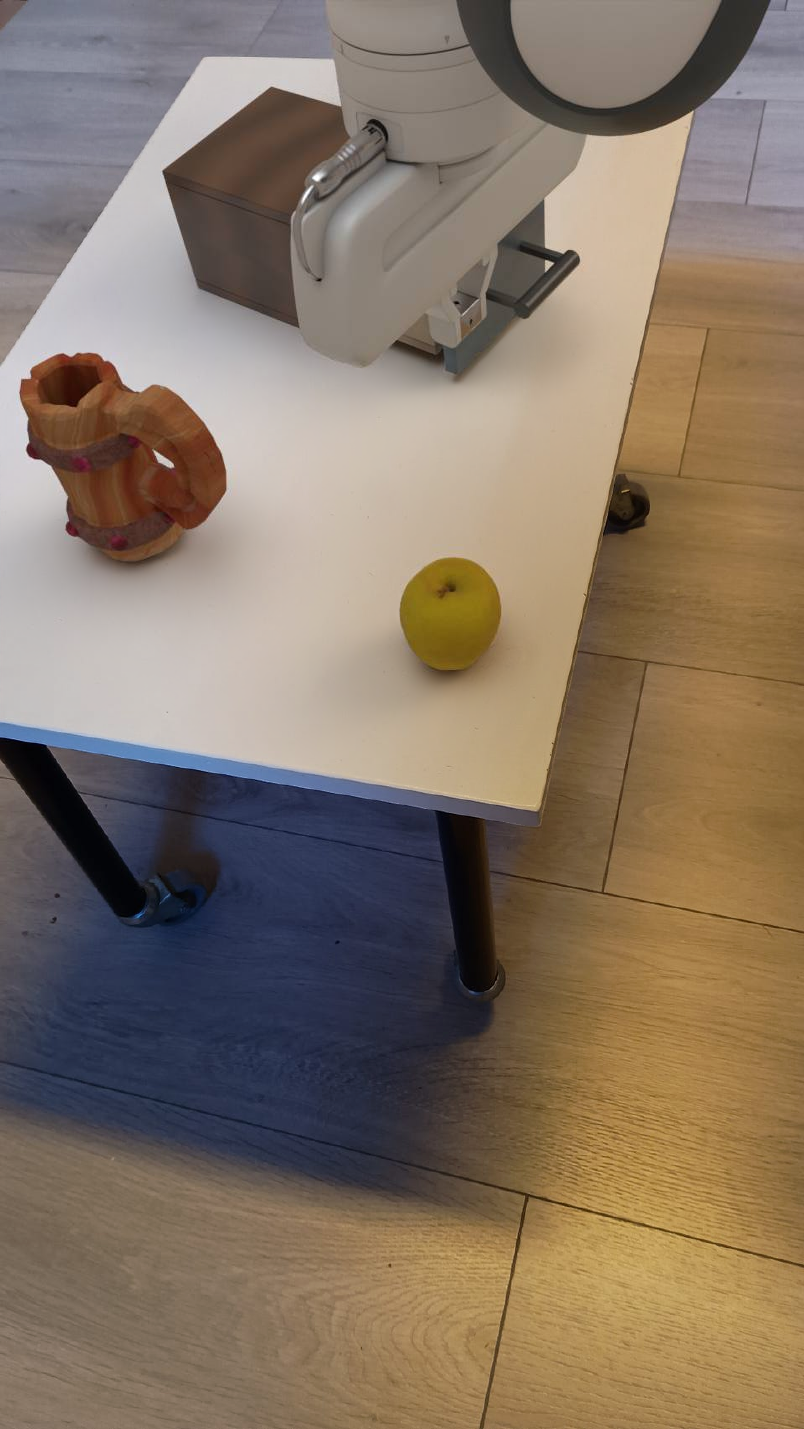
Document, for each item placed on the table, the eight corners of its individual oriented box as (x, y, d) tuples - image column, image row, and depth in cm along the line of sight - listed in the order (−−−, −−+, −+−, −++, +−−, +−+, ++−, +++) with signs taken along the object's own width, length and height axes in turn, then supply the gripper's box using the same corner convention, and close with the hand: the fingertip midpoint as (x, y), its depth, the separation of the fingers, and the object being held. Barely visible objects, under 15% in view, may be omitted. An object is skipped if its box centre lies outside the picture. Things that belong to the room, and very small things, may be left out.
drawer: (597, 302, 89) (601, 198, 82) (510, 396, 84) (506, 295, 77) (394, 233, 97) (380, 133, 90) (304, 315, 92) (282, 217, 85)
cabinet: (443, 254, 96) (431, 131, 87) (346, 346, 91) (323, 226, 82) (295, 204, 103) (271, 85, 94) (197, 287, 98) (161, 170, 89)
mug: (55, 554, 82) (-34, 393, 69) (119, 479, 85) (45, 314, 73) (219, 614, 77) (154, 453, 64) (279, 532, 80) (229, 364, 68)
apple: (429, 706, 71) (416, 630, 64) (392, 635, 74) (376, 555, 67) (520, 670, 71) (517, 590, 65) (480, 600, 75) (472, 518, 68)
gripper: (345, 215, 44) (389, 468, 56) (615, -18, 52) (605, 246, 64) (230, 175, 47) (295, 424, 58) (504, -41, 55) (514, 216, 66)
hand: (459, 330), depth 61 cm, fingers closed
